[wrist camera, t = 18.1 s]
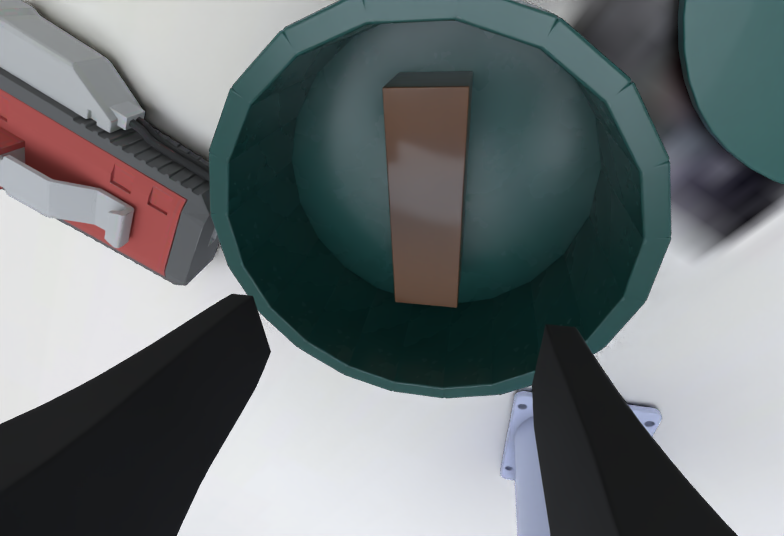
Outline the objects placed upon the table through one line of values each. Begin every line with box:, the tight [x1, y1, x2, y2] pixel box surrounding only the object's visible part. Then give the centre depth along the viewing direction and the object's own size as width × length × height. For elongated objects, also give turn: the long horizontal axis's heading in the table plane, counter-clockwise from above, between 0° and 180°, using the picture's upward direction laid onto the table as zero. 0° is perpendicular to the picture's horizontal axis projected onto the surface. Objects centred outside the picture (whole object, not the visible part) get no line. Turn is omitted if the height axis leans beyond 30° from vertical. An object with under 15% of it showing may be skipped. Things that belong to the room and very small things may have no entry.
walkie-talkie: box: [0, 0, 220, 286], centre depth 18 cm, size 9×4×20 cm
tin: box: [209, 0, 671, 398], centre depth 15 cm, size 14×14×6 cm
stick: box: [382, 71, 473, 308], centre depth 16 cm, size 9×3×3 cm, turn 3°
